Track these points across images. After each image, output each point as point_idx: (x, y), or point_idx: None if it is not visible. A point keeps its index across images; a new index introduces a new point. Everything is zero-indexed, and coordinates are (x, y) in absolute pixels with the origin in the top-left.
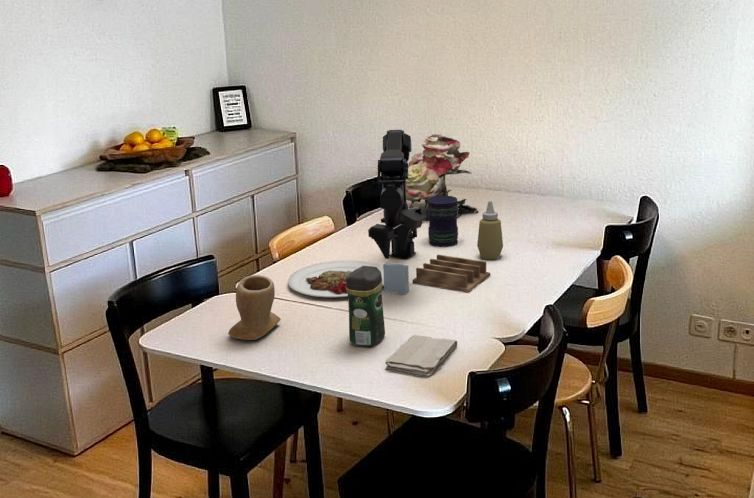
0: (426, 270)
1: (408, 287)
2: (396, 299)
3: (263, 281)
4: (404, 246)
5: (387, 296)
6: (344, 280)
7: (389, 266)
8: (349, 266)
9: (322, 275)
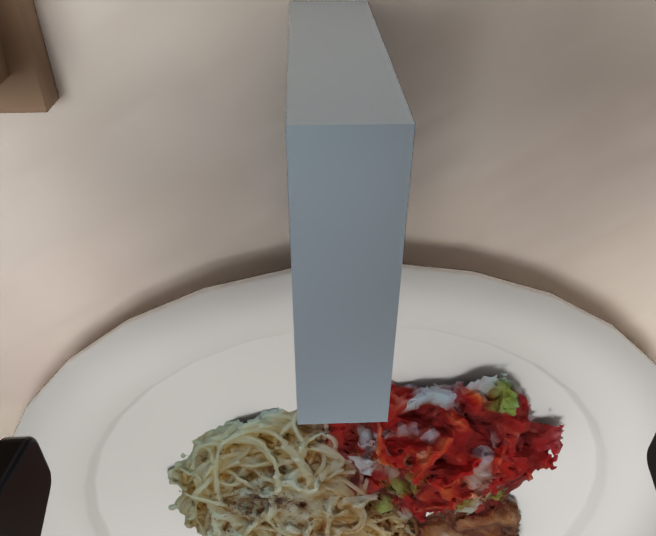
0: None
1: (299, 15)
2: (533, 14)
3: None
4: (13, 490)
5: (481, 135)
6: (456, 492)
7: (392, 341)
8: None
9: None
